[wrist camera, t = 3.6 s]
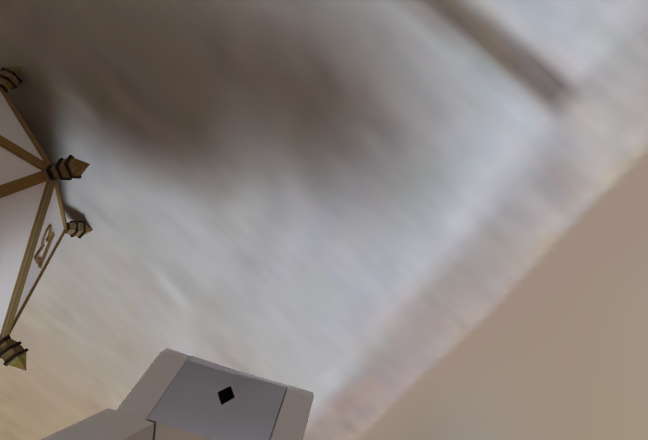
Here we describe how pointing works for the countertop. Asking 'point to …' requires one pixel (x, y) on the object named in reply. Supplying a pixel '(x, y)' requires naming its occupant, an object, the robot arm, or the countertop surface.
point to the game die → (27, 214)
